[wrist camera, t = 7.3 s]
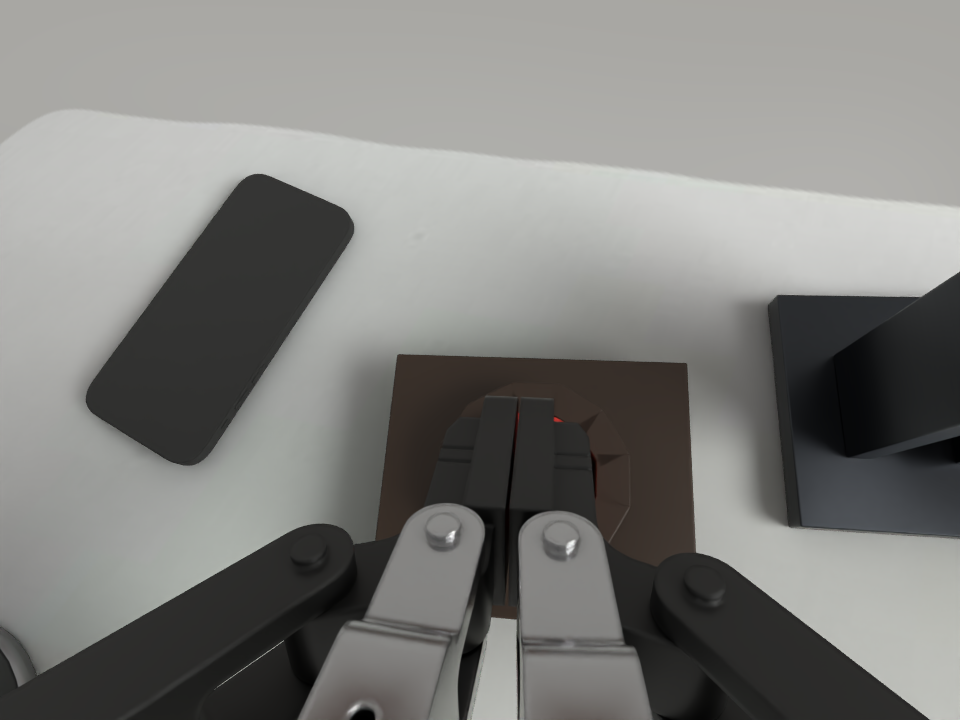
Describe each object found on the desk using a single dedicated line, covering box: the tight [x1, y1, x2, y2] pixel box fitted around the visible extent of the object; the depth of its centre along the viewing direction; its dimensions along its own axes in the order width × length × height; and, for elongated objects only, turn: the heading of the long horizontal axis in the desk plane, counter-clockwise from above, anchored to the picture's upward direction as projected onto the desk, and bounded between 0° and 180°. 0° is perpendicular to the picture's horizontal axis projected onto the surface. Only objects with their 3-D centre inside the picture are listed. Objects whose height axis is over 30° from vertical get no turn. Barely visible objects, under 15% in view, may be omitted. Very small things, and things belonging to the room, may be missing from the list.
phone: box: [86, 174, 354, 465], centre depth 29 cm, size 7×1×15 cm
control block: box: [375, 354, 696, 619], centre depth 23 cm, size 12×10×5 cm
